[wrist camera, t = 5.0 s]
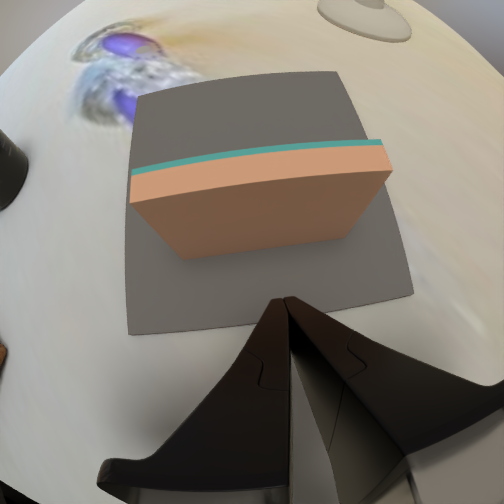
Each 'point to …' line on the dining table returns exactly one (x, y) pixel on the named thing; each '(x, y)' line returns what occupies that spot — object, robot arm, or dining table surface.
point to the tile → (260, 195)
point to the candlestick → (366, 19)
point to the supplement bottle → (10, 170)
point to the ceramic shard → (2, 353)
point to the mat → (264, 260)
